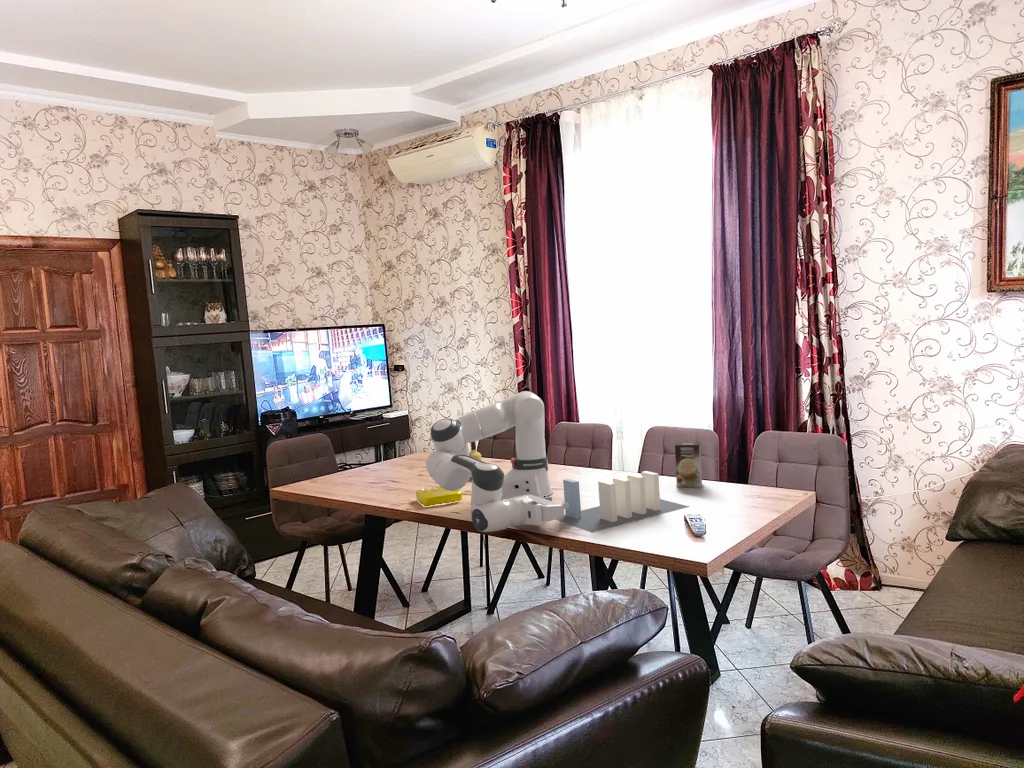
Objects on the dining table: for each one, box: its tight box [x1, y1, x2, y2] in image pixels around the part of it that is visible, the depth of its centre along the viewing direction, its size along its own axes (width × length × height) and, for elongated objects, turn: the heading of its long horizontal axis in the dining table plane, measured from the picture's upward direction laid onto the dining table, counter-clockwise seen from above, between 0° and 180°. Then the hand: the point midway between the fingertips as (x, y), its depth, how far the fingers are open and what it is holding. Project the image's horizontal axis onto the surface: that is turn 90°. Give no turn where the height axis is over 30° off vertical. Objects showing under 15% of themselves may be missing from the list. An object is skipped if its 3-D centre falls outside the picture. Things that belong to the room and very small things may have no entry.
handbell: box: [469, 441, 483, 461], centre depth 320 cm, size 12×12×25 cm
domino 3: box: [626, 473, 646, 514], centre depth 226 cm, size 2×6×12 cm, turn 30°
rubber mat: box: [555, 498, 690, 534], centre depth 228 cm, size 40×22×1 cm, turn 121°
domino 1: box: [597, 480, 617, 522], centre depth 220 cm, size 2×6×12 cm, turn 30°
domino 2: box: [612, 477, 632, 518], centre depth 223 cm, size 2×6×12 cm, turn 30°
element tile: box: [415, 486, 463, 506], centre depth 266 cm, size 15×15×5 cm
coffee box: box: [674, 441, 703, 488], centre depth 260 cm, size 9×6×16 cm
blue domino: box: [562, 478, 582, 519], centre depth 227 cm, size 2×6×12 cm, turn 31°
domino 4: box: [640, 470, 661, 511], centre depth 229 cm, size 2×6×12 cm, turn 30°
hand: (559, 501), depth 224 cm, fingers open, 8 cm apart
